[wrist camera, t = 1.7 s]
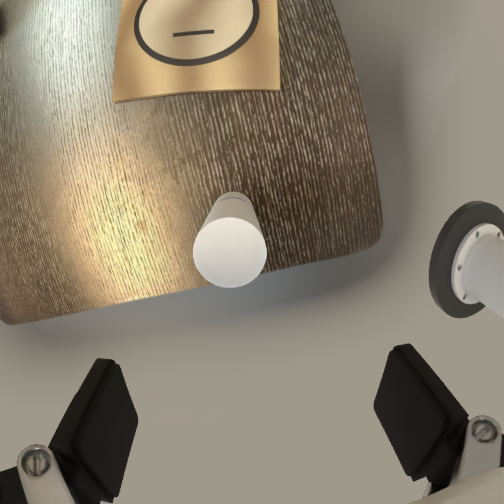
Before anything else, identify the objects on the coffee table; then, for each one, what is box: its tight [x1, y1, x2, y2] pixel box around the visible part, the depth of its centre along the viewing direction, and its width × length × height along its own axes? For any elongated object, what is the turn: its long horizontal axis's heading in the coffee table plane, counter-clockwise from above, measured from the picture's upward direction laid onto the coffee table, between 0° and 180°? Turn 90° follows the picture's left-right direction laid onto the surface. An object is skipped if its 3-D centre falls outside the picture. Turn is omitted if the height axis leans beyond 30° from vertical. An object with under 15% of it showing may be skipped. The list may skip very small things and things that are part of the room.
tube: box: [193, 192, 267, 288], centre depth 24 cm, size 4×4×15 cm
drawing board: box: [112, 0, 280, 103], centre depth 24 cm, size 18×20×2 cm
